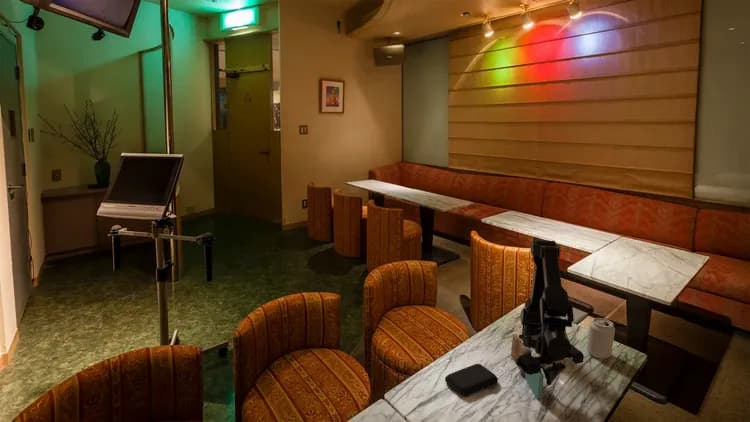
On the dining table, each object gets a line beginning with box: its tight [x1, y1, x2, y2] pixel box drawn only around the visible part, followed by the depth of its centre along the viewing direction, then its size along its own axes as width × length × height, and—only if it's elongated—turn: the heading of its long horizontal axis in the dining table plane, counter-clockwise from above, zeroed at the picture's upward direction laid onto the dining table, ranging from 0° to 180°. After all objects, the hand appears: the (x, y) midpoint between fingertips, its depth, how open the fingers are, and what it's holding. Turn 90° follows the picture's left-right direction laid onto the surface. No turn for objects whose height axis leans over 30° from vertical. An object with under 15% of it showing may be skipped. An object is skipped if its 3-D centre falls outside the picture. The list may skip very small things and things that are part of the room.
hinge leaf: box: [521, 368, 545, 400], centre depth 132 cm, size 13×3×8 cm, turn 1°
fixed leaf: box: [510, 333, 533, 378], centre depth 141 cm, size 12×3×9 cm, turn 3°
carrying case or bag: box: [444, 363, 499, 397], centre depth 133 cm, size 11×3×15 cm
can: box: [586, 317, 616, 360], centre depth 148 cm, size 8×8×12 cm
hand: (548, 384), depth 129 cm, fingers closed
